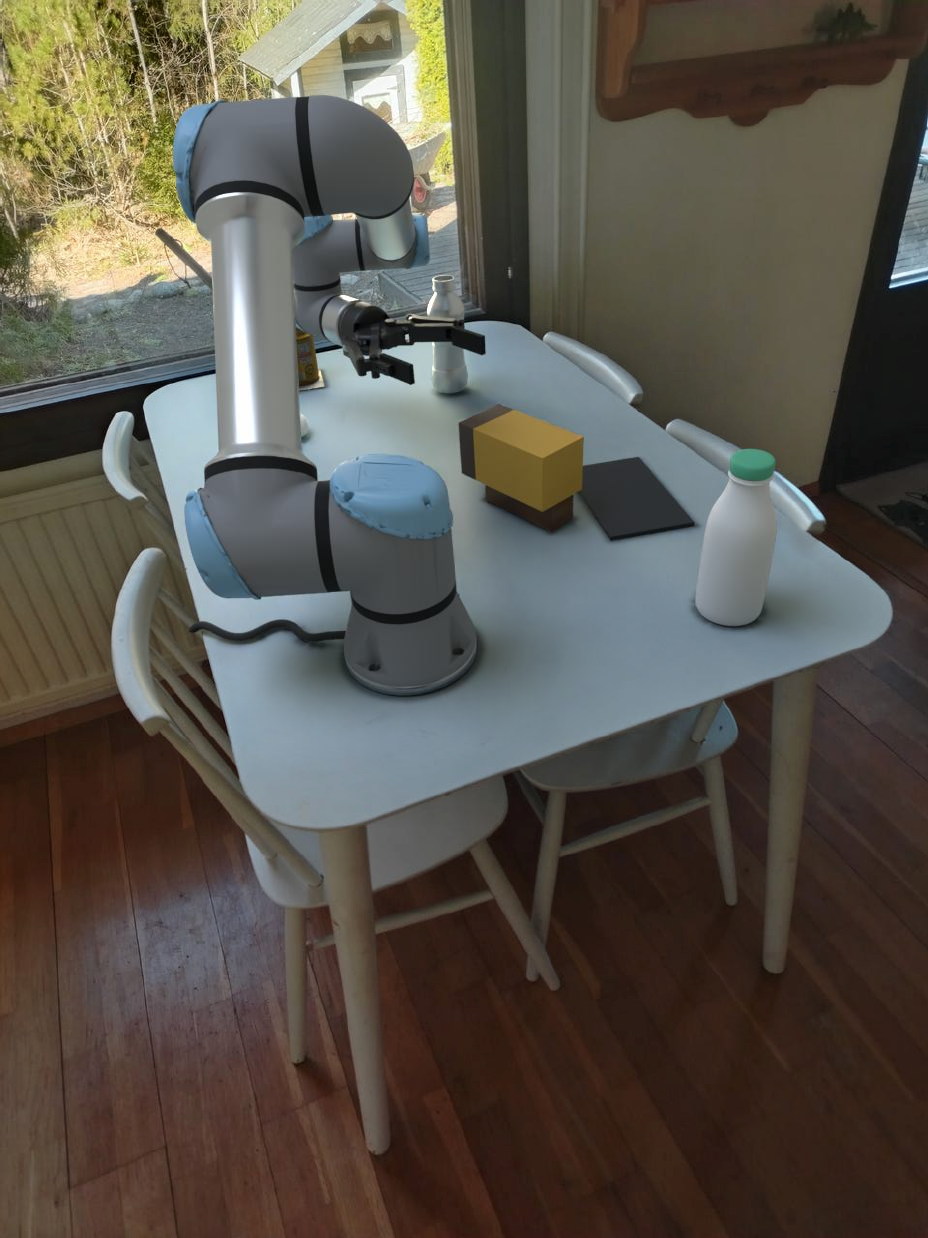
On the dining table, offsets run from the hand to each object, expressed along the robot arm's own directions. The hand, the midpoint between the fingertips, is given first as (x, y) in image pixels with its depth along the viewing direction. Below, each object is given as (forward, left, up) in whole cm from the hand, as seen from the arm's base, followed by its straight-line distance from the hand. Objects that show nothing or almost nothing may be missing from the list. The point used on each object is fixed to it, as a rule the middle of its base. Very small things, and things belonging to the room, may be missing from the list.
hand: (449, 359), depth 120 cm
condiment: (-20, +46, -18) cm, 53 cm away
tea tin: (+7, -12, -14) cm, 20 cm away
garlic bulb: (-28, +11, -16) cm, 34 cm away
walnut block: (+8, -13, -18) cm, 24 cm away
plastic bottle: (+6, +32, -18) cm, 37 cm away
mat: (+22, -14, -18) cm, 32 cm away
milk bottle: (+24, -42, -18) cm, 52 cm away
